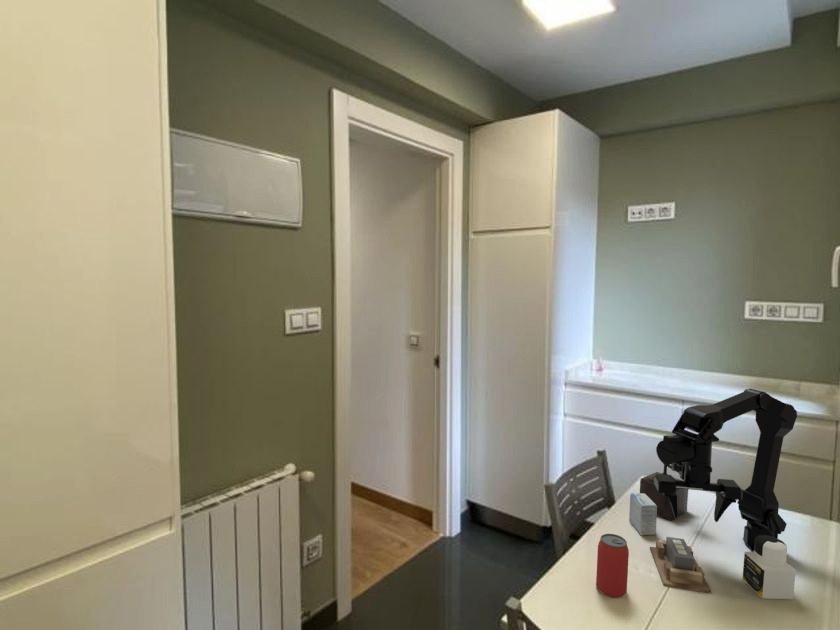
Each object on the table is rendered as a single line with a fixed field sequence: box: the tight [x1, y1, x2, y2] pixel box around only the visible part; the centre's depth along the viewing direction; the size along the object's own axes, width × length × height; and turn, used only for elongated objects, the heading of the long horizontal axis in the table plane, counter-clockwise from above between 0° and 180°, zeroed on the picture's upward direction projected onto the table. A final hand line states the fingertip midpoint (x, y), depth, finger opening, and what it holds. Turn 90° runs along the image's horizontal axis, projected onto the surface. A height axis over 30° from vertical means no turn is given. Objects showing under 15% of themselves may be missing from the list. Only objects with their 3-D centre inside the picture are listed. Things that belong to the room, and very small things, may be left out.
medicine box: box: [628, 492, 658, 536], centre depth 141 cm, size 8×4×9 cm, turn 179°
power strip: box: [665, 536, 695, 571], centre depth 121 cm, size 4×9×5 cm, turn 166°
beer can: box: [595, 533, 630, 599], centre depth 113 cm, size 7×7×12 cm
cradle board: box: [649, 539, 712, 594], centre depth 121 cm, size 10×16×3 cm, turn 166°
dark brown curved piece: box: [639, 463, 689, 521], centre depth 149 cm, size 16×11×18 cm
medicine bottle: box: [742, 535, 797, 600], centre depth 114 cm, size 7×7×12 cm
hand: (695, 519), depth 124 cm, fingers open, 9 cm apart
